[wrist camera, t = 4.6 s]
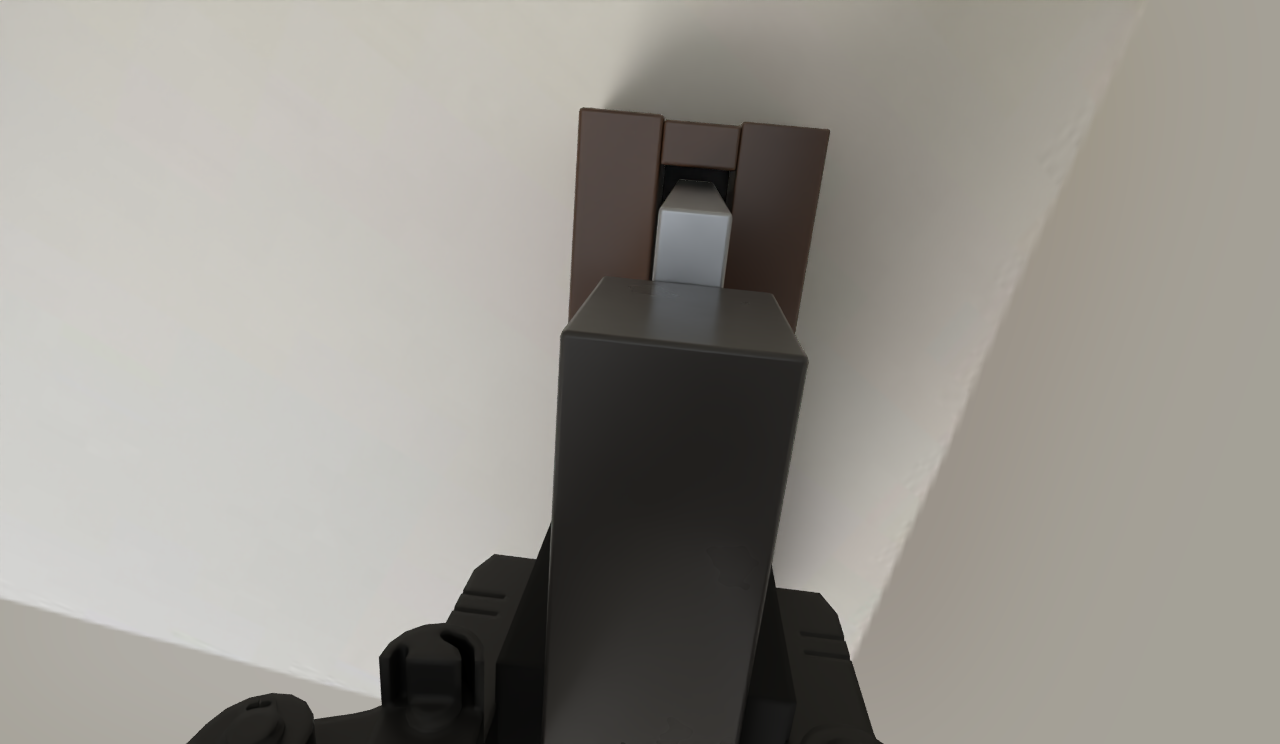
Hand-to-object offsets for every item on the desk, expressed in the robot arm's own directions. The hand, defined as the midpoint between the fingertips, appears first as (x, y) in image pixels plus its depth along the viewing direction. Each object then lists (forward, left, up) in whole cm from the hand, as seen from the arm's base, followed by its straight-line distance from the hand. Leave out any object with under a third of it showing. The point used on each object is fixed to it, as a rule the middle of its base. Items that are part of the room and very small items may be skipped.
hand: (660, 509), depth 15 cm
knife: (0, 0, -6) cm, 6 cm away
